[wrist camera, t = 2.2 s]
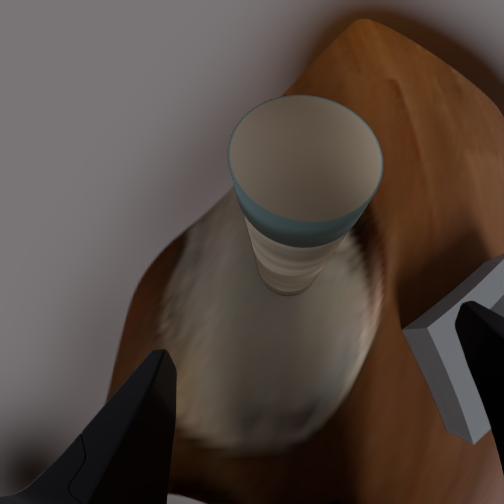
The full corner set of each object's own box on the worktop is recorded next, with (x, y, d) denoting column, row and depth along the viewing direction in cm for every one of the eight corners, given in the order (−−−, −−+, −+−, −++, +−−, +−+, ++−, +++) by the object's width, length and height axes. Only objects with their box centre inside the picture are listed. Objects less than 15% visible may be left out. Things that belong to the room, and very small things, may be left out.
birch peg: (275, 307, 20) (276, 254, 7) (247, 255, 21) (203, 128, 8) (328, 278, 20) (411, 181, 7) (299, 228, 21) (326, 80, 8)
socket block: (447, 431, 16) (473, 444, 12) (401, 329, 19) (427, 327, 15) (521, 356, 17) (550, 356, 13) (484, 262, 20) (512, 249, 16)
